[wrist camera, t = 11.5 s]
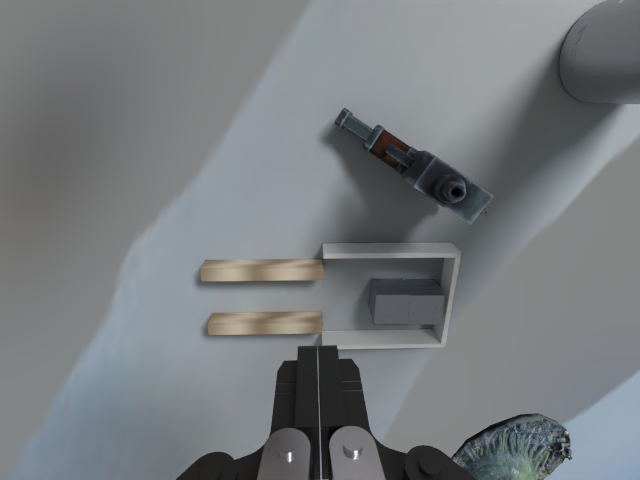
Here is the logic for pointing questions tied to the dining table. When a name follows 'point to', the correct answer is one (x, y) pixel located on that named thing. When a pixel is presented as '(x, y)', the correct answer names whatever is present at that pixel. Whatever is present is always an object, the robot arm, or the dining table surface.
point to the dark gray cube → (424, 301)
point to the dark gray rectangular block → (389, 301)
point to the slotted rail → (263, 272)
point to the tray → (398, 337)
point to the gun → (421, 170)
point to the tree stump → (515, 449)
